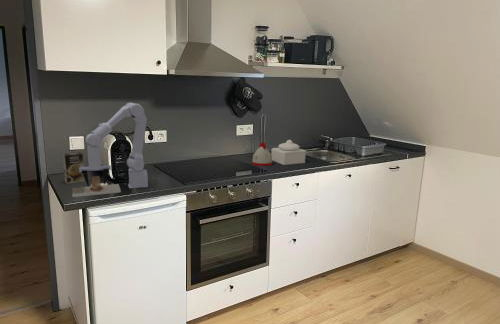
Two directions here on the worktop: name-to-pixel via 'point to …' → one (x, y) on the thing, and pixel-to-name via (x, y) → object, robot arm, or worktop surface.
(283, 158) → the grey lidded box
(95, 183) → the peg
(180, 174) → the worktop surface
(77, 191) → the hole plate
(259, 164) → the grey bobble hat
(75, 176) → the coffee box
